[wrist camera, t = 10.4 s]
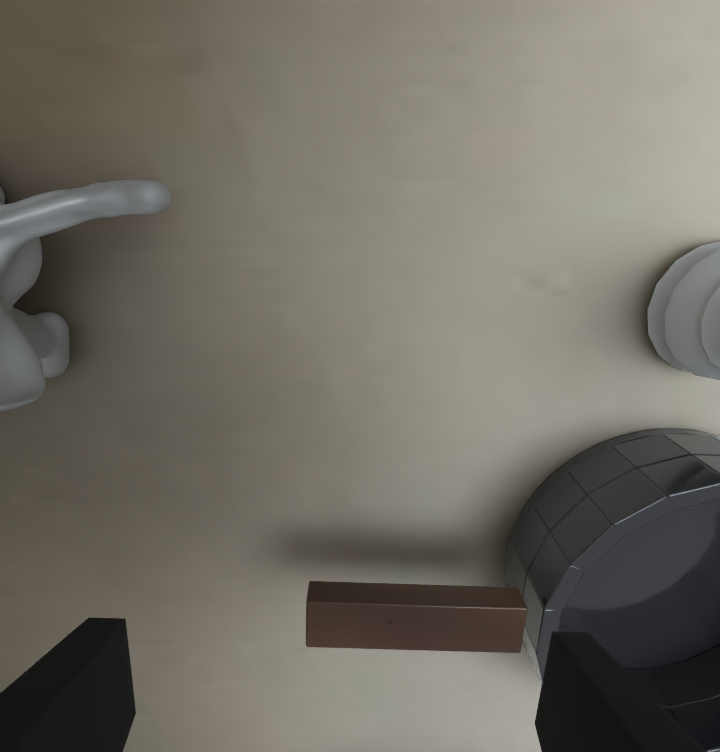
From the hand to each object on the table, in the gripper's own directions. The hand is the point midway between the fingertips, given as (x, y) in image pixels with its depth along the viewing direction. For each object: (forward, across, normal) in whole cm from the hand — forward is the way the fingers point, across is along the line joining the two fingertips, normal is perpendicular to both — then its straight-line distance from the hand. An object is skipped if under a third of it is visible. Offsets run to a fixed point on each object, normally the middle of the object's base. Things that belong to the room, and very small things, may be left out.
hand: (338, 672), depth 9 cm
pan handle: (+7, -2, +5) cm, 9 cm away
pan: (+10, -12, +5) cm, 17 cm away
